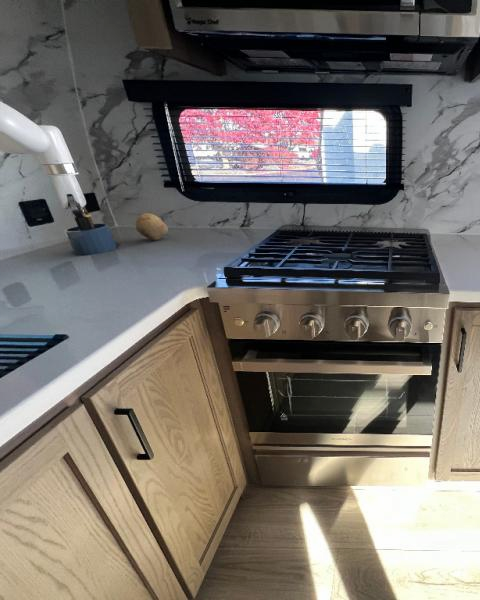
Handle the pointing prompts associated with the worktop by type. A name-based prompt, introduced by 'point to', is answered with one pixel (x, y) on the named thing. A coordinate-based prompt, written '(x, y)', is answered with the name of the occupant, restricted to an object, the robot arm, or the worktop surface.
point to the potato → (151, 226)
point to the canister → (91, 239)
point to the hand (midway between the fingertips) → (87, 227)
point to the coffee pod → (89, 220)
